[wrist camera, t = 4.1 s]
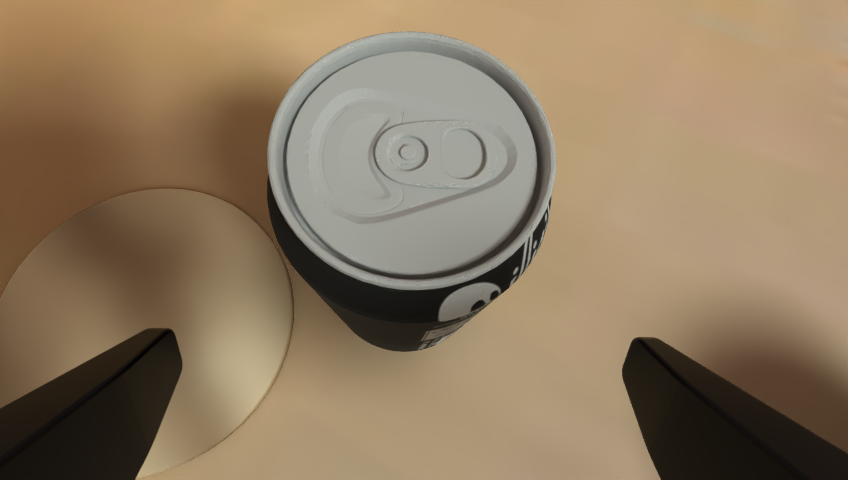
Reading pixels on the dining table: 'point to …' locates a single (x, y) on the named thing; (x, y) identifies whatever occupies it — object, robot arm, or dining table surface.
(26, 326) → the disc
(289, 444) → the dining table surface
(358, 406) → the dining table surface
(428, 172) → the beverage can
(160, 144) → the dining table surface
